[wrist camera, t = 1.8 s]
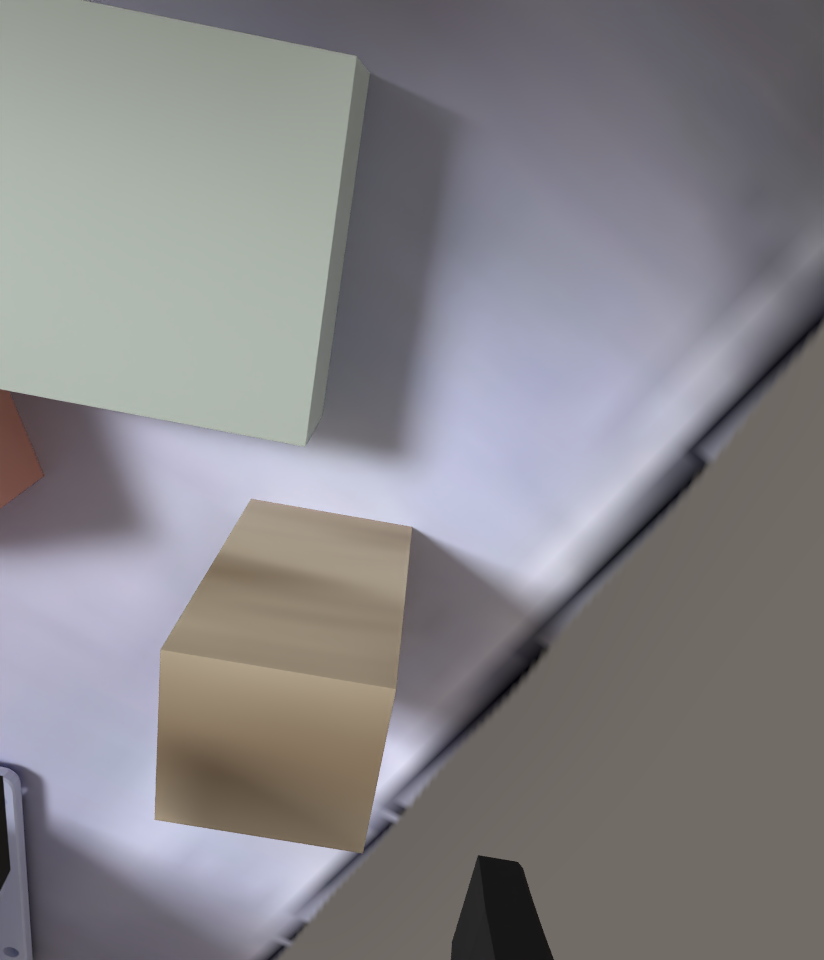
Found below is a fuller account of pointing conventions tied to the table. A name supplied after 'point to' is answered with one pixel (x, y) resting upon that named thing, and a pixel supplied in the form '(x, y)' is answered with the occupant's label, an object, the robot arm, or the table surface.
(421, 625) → the table surface
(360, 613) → the beech block
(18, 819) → the robot arm
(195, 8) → the table surface
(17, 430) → the block
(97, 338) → the base block
